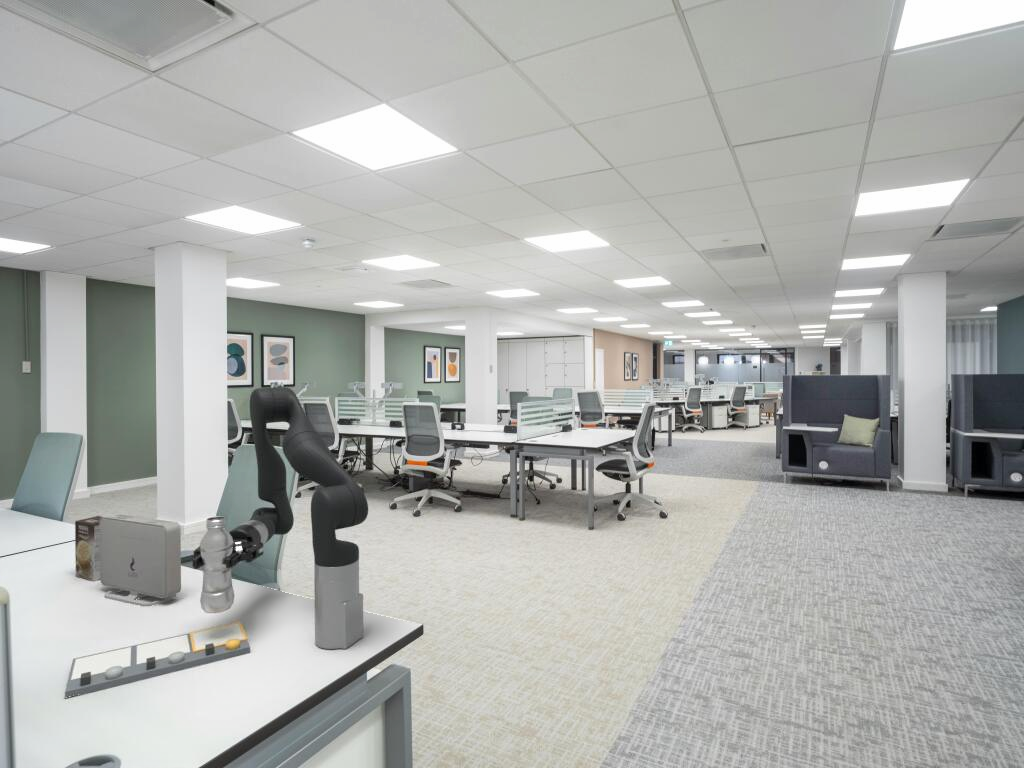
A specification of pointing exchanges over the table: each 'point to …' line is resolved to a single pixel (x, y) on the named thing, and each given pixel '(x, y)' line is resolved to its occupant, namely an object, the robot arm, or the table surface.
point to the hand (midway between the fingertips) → (211, 564)
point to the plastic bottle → (216, 567)
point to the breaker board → (155, 658)
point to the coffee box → (87, 548)
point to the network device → (140, 558)
